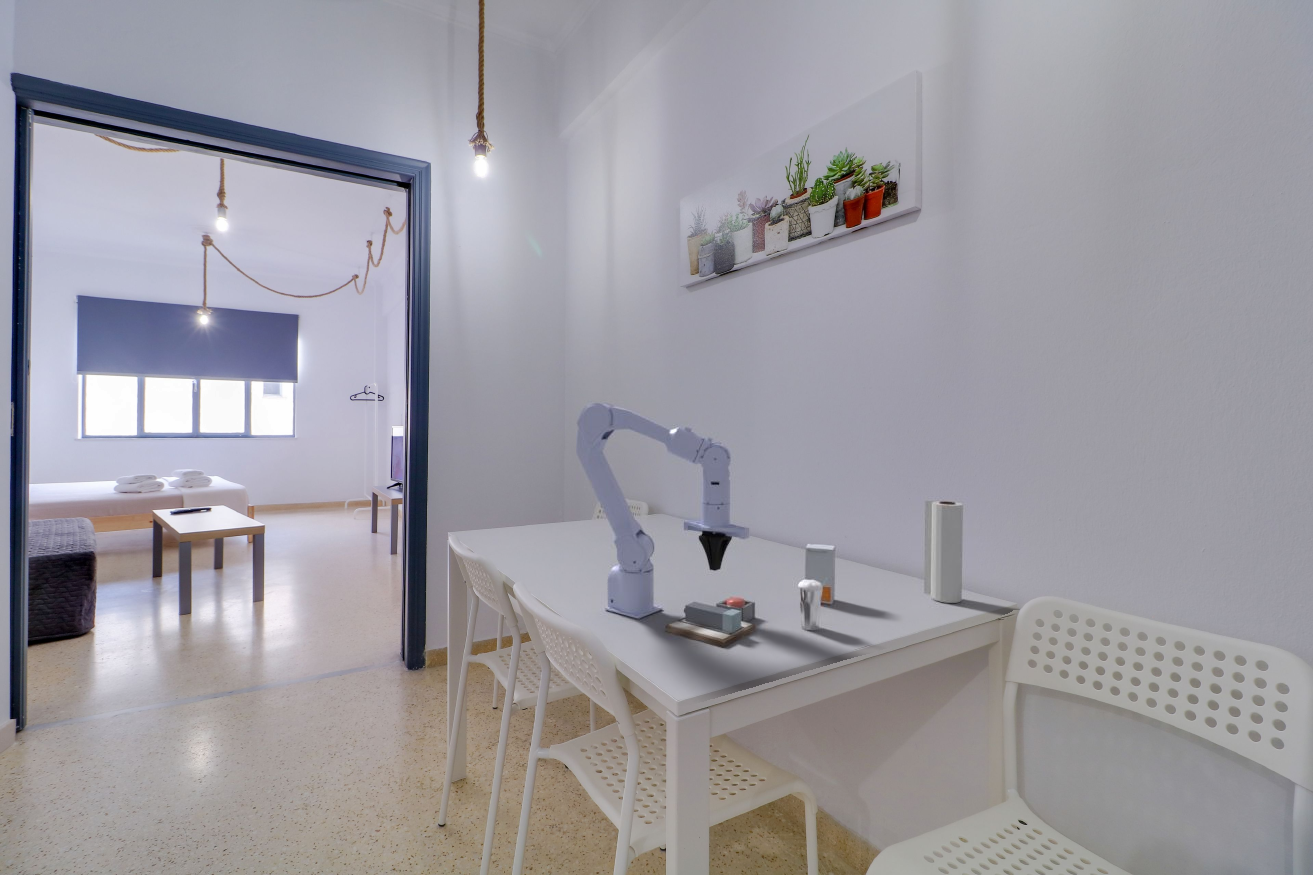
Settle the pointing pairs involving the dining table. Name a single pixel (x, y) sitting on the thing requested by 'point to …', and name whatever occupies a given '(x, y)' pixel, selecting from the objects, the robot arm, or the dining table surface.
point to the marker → (713, 616)
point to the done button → (736, 602)
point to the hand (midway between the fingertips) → (715, 569)
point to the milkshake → (810, 603)
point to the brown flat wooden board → (708, 632)
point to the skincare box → (821, 569)
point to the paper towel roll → (943, 550)
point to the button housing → (741, 609)
